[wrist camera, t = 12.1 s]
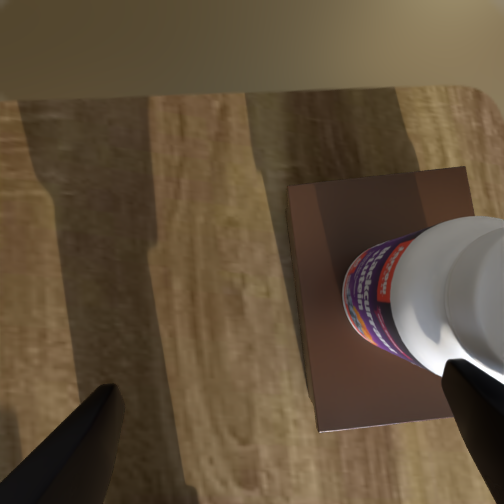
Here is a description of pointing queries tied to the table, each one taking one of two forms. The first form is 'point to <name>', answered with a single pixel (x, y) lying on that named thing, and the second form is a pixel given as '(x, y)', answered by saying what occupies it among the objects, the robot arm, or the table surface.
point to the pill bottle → (434, 295)
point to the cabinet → (331, 284)
